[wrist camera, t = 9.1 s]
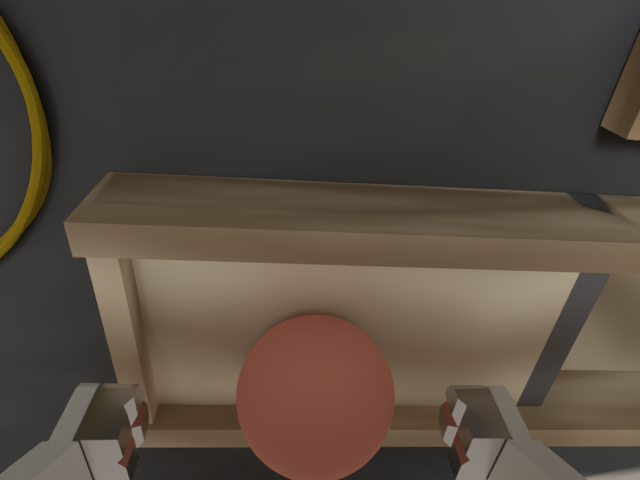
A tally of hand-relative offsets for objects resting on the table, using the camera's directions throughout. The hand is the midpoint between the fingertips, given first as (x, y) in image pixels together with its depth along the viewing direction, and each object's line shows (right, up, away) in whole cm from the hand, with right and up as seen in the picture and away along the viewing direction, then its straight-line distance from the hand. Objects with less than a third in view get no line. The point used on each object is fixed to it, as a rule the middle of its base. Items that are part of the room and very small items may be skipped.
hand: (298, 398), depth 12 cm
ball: (0, 0, 0) cm, 1 cm away
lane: (+5, +2, +4) cm, 7 cm away
